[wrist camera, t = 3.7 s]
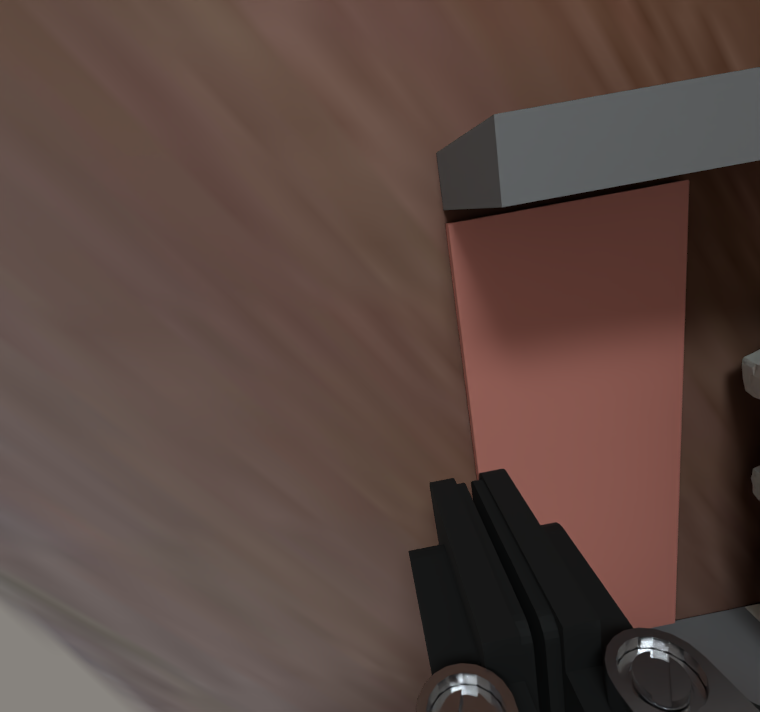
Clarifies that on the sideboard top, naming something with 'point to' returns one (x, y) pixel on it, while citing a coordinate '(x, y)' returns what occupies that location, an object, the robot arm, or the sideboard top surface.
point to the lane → (595, 326)
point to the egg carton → (756, 379)
